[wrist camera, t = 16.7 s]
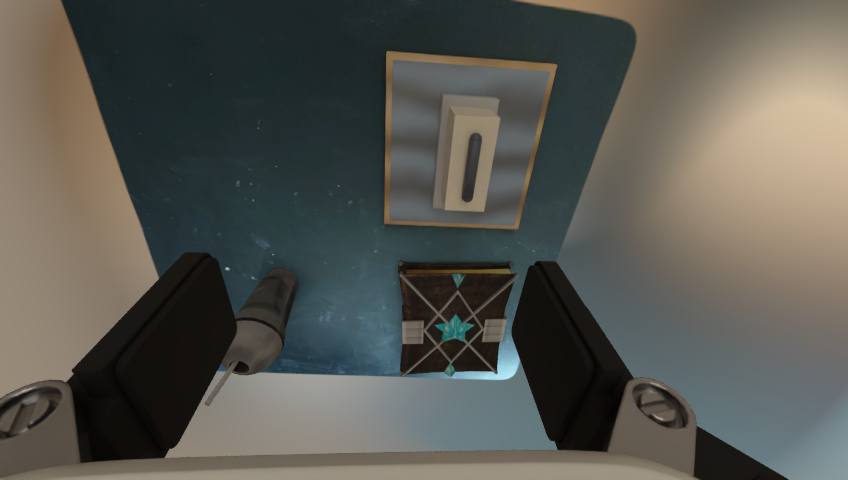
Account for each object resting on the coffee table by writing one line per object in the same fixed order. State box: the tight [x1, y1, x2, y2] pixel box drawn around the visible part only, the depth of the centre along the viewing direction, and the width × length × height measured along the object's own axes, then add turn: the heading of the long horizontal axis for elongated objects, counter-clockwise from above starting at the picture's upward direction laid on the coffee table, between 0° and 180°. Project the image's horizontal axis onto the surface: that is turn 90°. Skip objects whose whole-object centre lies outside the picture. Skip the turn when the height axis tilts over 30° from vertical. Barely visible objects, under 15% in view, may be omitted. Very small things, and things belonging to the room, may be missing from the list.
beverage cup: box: [205, 268, 298, 406], centre depth 43 cm, size 7×7×20 cm
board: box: [384, 51, 557, 229], centre depth 41 cm, size 20×18×2 cm
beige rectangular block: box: [432, 93, 500, 212], centre depth 38 cm, size 13×6×7 cm, turn 176°
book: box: [398, 261, 519, 377], centre depth 54 cm, size 22×17×5 cm
